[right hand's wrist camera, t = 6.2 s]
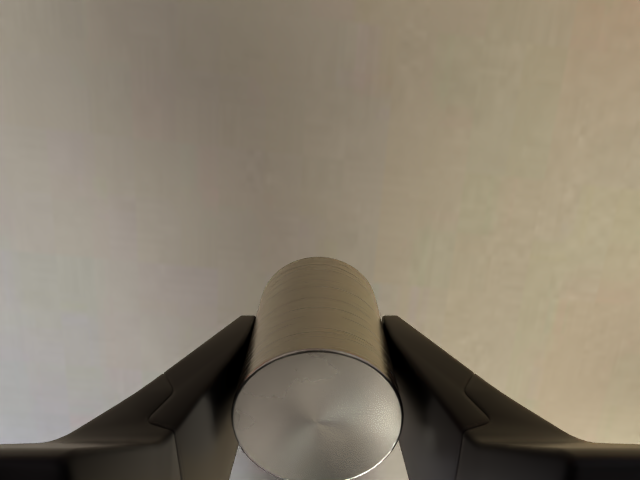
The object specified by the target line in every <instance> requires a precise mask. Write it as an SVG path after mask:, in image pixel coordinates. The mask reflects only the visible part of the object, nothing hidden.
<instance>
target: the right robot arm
mask: <svg viewBox="0 0 640 480" xmlns="http://www.w3.org/2000/svg"><path fill="white" fill-rule="evenodd" d="M255 319H256V317H255V316H240V317H239V318H237V319H236V320H235V321H233V322H232V323H231V324H229V325H228V326H227V327H225V328H224V329H223V330H221V331H220V332H218V333H217V334H216V335H214V336H213V337H212V338H210V339H209V340H208V341H206V342H205V343H204V344H202V345H201V346H200V347H198V348H197V349H195V350H194V351H193V352H191V353H190V354H189V355H187V356H186V357H185V358H183V359H182V360H181V361H179V362H178V363H177V364H175V365H174V366H172V367H171V368H170V369H168V370H167V371H166V372H164V374H161V375H160V376H159V377H157V378H156V379H155V380H153V381H152V382H151V383H149V384H148V385H146V386H145V387H143V388H142V389H141V390H139V391H138V392H136V393H135V394H133V395H132V396H130V397H128V398H127V399H125V400H124V401H122V402H121V403H119V404H117V405H116V406H114V407H113V408H111V409H109V410H108V411H106V412H104V413H103V414H101V415H100V416H98V417H96V418H95V419H93V420H91V421H90V422H88V423H86V424H85V425H83V426H82V427H80V428H78V429H77V430H75V431H73V432H72V433H70V434H68V435H66V436H64V437H61V438H59V439H56V440H53V441H50V442H45V443H28V444H0V480H229V478H230V474H231V470H232V467H233V463H234V459H235V456H236V452H237V448H238V442H237V439H236V437H235V435H234V431H233V428H232V421H231V408H232V404H233V399H234V395H235V392H236V388H237V385H238V381H239V377H240V374H241V370H242V366H243V363H244V359H245V355H246V352H247V348H248V344H249V341H250V337H251V334H252V330H253V326H254V323H255ZM382 326H383V330H384V334H385V338H386V342H387V346H388V350H389V353H390V357H391V361H392V365H393V369H394V373H395V377H396V381H397V385H398V388H399V392H400V396H401V400H402V404H403V411H404V421H403V427H402V431H401V435H400V437H399V439H398V440H399V444H400V447H401V451H402V455H403V459H404V462H405V466H406V470H407V474H408V477H409V480H640V444H609V443H592V442H587V441H584V440H581V439H578V438H576V437H573V436H571V435H569V434H567V433H566V432H564V431H562V430H561V429H559V428H557V427H556V426H554V425H552V424H551V423H549V422H548V421H546V420H544V419H543V418H541V417H539V416H538V415H536V414H535V413H533V412H531V411H530V410H528V409H527V408H525V407H523V406H522V405H520V404H518V403H517V402H515V401H514V400H512V399H511V398H509V397H508V396H506V395H504V394H503V393H501V392H500V391H498V390H497V389H496V388H494V387H493V386H491V385H490V384H489V383H487V382H486V381H484V380H483V379H482V378H480V377H479V376H478V375H476V374H474V373H473V372H472V371H471V370H469V369H468V368H467V367H465V366H464V365H463V364H461V363H460V362H459V361H457V360H456V359H455V358H453V357H452V356H451V355H449V354H448V353H447V352H445V351H444V350H443V349H441V348H440V347H439V346H437V345H436V344H435V343H433V342H432V341H431V340H429V339H428V338H427V337H425V336H424V335H422V334H421V333H420V332H418V331H417V330H416V329H414V328H413V327H412V326H410V325H409V324H408V323H406V322H405V321H404V320H402V319H401V318H400V317H398V316H383V318H382Z"/></svg>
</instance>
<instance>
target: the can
mask: <svg viewBox="0 0 640 480" xmlns="http://www.w3.org/2000/svg"><path fill="white" fill-rule="evenodd" d="M231 421H232V428H233V431H234V435H235V437H236V439H237V442H238V444H239V445H240V447H241V448H242V450H243V452H244V453H245V454H246V455H247V456H248V457H249V458H250V459H251V460H252V461H253V462H254V463H255V464H256V465H257V466H259V467H260V468H262V469H263V470H265V471H267V472H268V473H270V474H272V475H274V476H277V477H279V478H282V479H284V480H351V479H354V478H356V477H359V476H361V475H363V474H365V473H367V472H369V471H370V470H372V469H373V468H375V467H376V466H378V465H379V464H380V463H381V462H382V461H383V460H384V459H386V458H387V456H388V455H389V454H390V453H391V452H392V450H393V449H394V447H395V445H396V444H397V442H398V439H399V437H400V435H401V431H402V427H403V421H404V411H403V404H402V400H401V396H400V392H399V388H398V385H397V381H396V377H395V373H394V369H393V365H392V361H391V357H390V353H389V350H388V346H387V342H386V338H385V334H384V330H383V326H382V322H381V318H380V315H379V311H378V307H377V303H376V299H375V295H374V292H373V290H372V288H371V286H370V284H369V282H368V281H367V280H366V278H365V277H364V276H363V275H362V274H361V273H360V272H359V271H358V270H356V269H355V268H353V267H352V266H350V265H348V264H346V263H344V262H342V261H339V260H336V259H332V258H325V257H311V258H304V259H301V260H297V261H295V262H292V263H290V264H288V265H286V266H285V267H283V268H282V269H280V270H279V271H278V272H277V273H276V274H275V275H274V276H273V277H272V278H271V279H270V280H269V282H268V283H267V285H266V287H265V289H264V291H263V294H262V297H261V301H260V304H259V308H258V312H257V315H256V319H255V323H254V326H253V330H252V334H251V337H250V341H249V344H248V348H247V352H246V355H245V359H244V363H243V366H242V370H241V374H240V377H239V381H238V385H237V388H236V392H235V395H234V399H233V404H232V408H231Z"/></svg>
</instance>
